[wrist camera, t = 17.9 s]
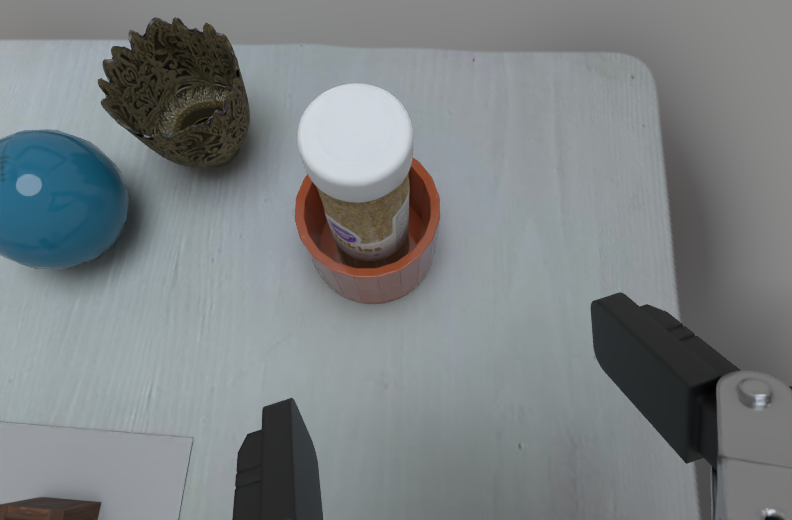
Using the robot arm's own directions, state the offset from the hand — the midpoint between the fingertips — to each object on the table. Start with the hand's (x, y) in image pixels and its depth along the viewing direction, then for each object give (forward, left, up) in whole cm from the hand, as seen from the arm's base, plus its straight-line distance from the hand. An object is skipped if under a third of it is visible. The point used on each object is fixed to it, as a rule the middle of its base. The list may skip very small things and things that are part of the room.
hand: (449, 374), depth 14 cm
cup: (+8, -20, -18) cm, 28 cm away
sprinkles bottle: (0, -10, -18) cm, 20 cm away
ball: (+17, -17, -18) cm, 30 cm away
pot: (0, -10, -18) cm, 21 cm away
